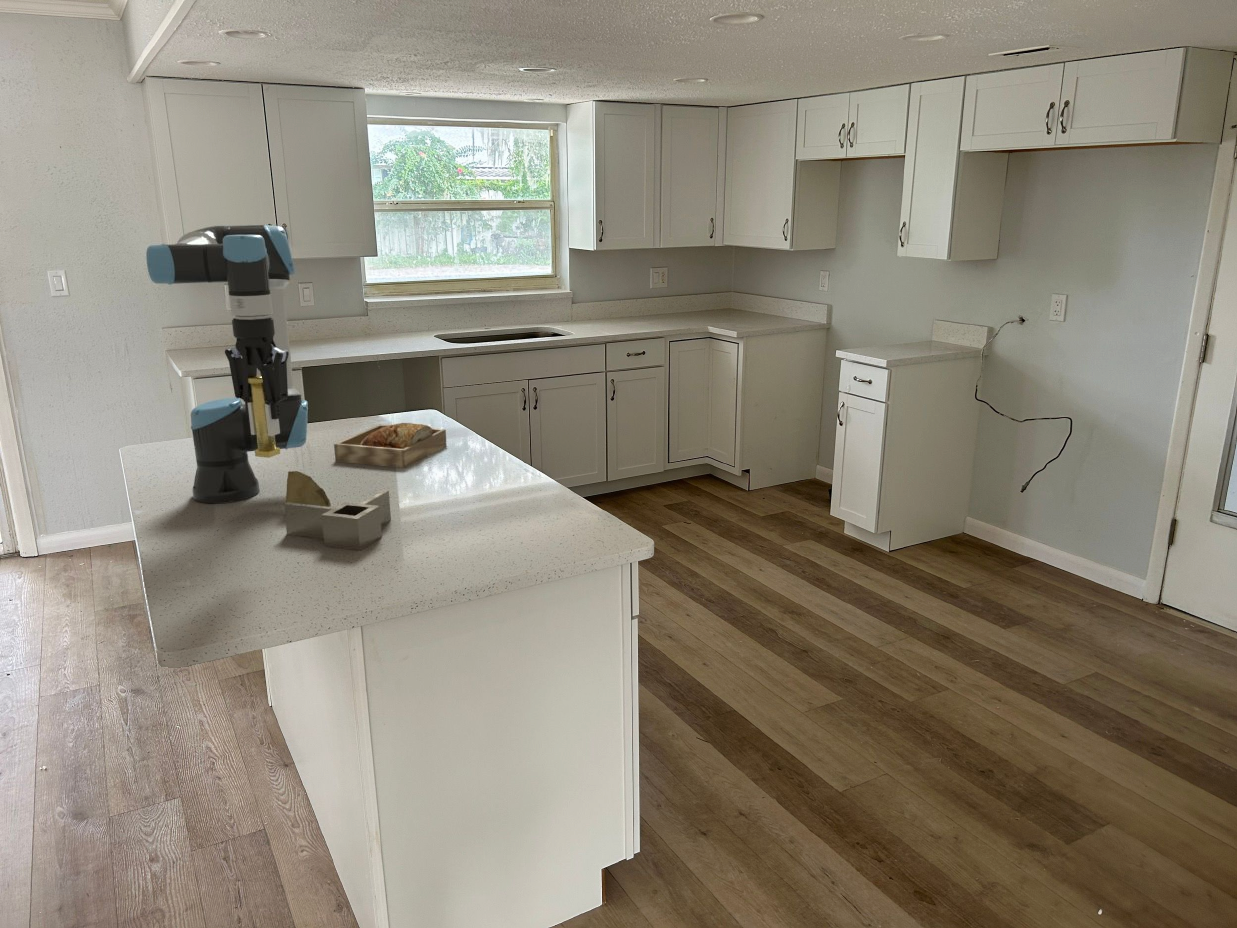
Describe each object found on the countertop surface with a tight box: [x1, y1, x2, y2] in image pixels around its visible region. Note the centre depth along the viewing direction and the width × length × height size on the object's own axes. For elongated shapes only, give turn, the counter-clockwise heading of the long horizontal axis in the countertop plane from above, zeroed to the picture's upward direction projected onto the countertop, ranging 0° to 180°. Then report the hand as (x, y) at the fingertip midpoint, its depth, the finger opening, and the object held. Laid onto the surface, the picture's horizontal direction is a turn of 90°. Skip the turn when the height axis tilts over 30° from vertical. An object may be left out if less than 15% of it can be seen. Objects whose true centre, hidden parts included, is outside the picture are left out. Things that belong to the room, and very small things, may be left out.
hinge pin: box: [248, 375, 281, 459], centre depth 178 cm, size 4×4×16 cm
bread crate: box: [333, 424, 448, 469], centre depth 255 cm, size 22×24×5 cm
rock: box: [285, 470, 332, 507], centre depth 207 cm, size 11×9×10 cm
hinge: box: [283, 489, 392, 551], centre depth 195 cm, size 20×18×7 cm
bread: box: [360, 422, 433, 449], centre depth 254 cm, size 20×18×10 cm
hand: (265, 433), depth 179 cm, fingers closed on hinge pin, 3 cm apart
